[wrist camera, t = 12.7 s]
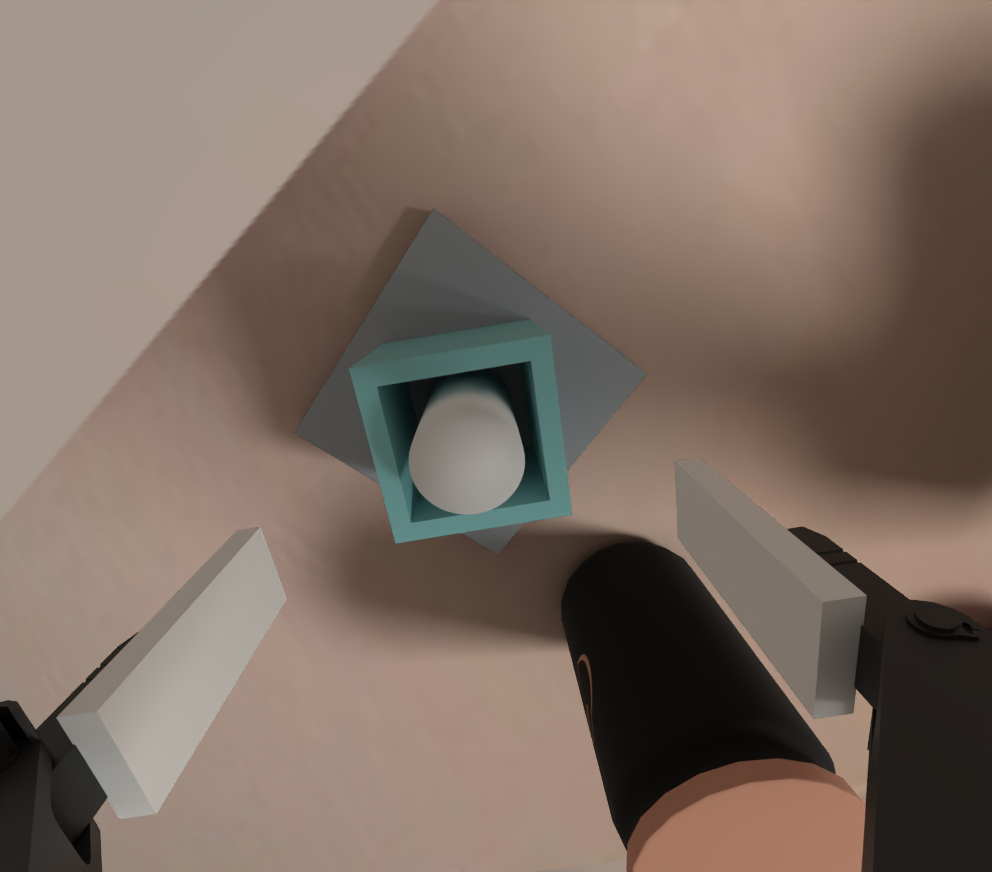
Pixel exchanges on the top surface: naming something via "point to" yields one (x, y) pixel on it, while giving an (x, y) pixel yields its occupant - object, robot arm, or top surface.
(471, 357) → the teal storage bin
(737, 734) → the coffee jar
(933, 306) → the top surface
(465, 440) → the grey square base plate
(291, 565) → the top surface
